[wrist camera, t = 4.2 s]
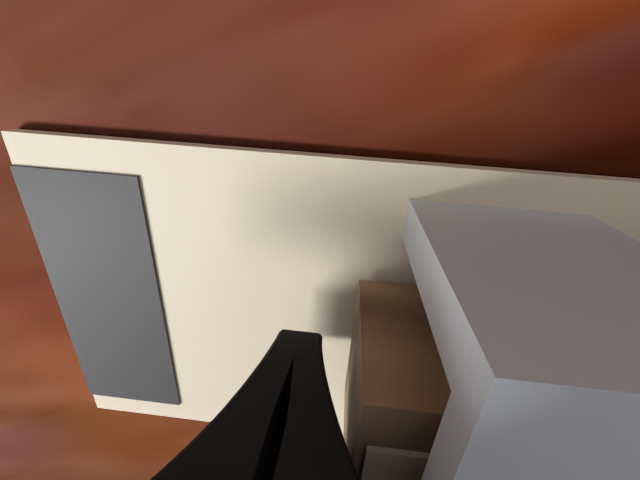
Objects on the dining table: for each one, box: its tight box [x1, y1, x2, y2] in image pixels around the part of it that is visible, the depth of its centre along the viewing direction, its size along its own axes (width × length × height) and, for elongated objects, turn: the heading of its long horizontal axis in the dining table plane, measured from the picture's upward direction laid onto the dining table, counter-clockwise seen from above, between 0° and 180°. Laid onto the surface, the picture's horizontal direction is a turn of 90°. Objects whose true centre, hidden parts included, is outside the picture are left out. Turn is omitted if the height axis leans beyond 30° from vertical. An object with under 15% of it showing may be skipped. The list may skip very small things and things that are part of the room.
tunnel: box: [1, 129, 640, 480], centre depth 9 cm, size 12×28×7 cm, turn 86°
